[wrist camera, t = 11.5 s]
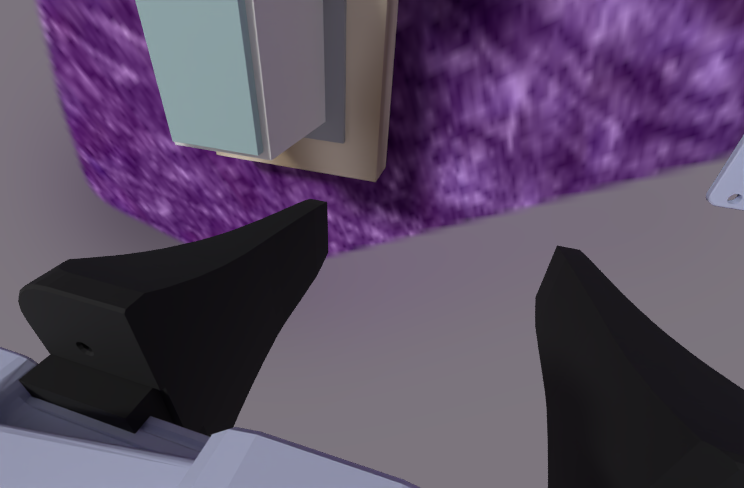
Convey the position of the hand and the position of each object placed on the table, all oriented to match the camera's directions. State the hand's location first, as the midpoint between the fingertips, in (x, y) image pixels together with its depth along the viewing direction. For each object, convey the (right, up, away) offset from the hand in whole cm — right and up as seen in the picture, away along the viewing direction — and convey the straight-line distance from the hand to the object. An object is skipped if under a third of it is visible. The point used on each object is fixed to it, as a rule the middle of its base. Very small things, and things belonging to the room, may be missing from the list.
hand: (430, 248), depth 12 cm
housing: (-6, +10, +5) cm, 13 cm away
